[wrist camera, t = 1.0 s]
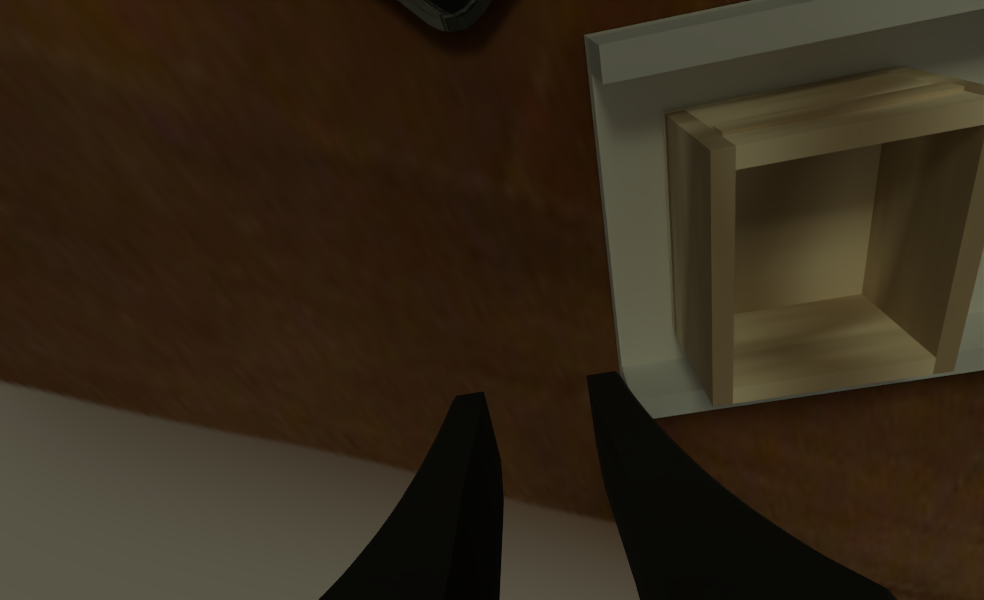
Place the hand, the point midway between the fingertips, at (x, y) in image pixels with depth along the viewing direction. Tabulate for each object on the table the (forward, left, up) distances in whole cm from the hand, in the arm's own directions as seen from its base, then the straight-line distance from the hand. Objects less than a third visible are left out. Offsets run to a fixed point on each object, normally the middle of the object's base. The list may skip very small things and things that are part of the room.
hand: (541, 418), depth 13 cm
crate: (-8, 0, -8) cm, 12 cm away
